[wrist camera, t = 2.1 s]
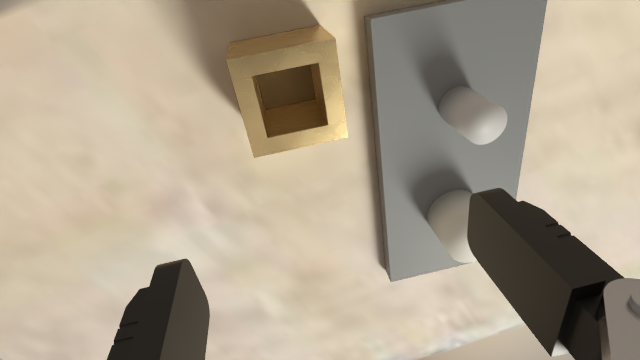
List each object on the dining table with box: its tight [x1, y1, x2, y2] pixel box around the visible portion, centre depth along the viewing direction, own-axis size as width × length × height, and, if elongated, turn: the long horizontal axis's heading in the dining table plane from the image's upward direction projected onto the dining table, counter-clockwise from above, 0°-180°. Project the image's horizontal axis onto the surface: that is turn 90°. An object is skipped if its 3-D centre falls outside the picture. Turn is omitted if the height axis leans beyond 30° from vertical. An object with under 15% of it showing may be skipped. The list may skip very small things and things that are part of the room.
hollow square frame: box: [226, 25, 348, 158], centre depth 23 cm, size 6×6×5 cm
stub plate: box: [364, 0, 547, 282], centre depth 28 cm, size 12×24×6 cm, turn 9°
